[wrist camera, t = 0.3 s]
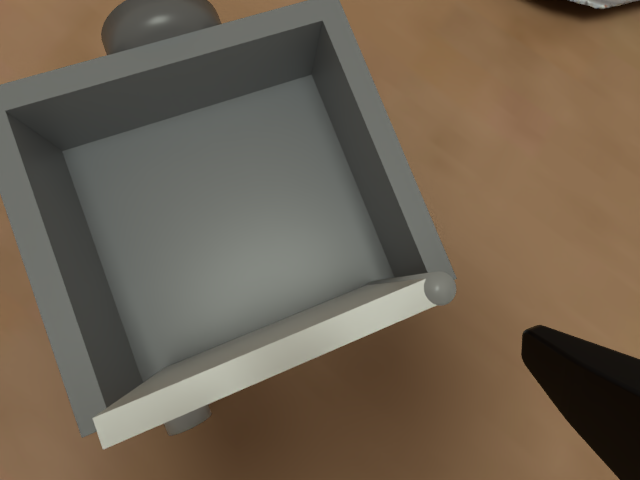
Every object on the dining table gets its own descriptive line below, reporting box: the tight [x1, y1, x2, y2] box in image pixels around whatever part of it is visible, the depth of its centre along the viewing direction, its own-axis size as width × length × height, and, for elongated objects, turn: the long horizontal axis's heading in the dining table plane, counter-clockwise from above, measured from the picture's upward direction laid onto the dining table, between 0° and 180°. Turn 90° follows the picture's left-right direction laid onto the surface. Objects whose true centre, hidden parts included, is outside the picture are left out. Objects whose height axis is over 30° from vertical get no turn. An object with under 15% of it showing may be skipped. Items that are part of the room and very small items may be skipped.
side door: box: [92, 271, 456, 449], centre depth 18 cm, size 13×2×9 cm, turn 112°
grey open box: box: [0, 0, 457, 437], centre depth 21 cm, size 18×17×7 cm
